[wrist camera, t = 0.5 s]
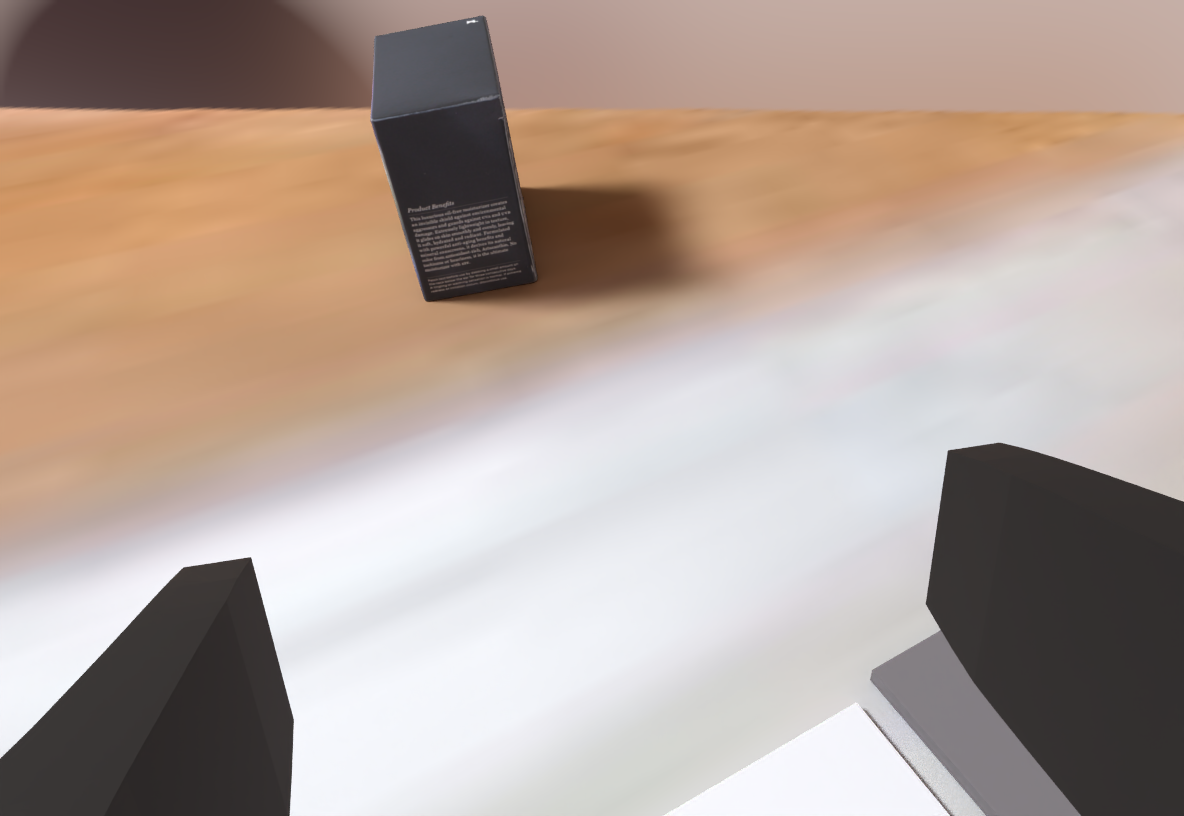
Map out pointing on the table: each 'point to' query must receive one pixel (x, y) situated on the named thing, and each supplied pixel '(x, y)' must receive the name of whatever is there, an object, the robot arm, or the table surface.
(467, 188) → the small box
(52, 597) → the table surface
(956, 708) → the grey square tile
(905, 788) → the notepad
